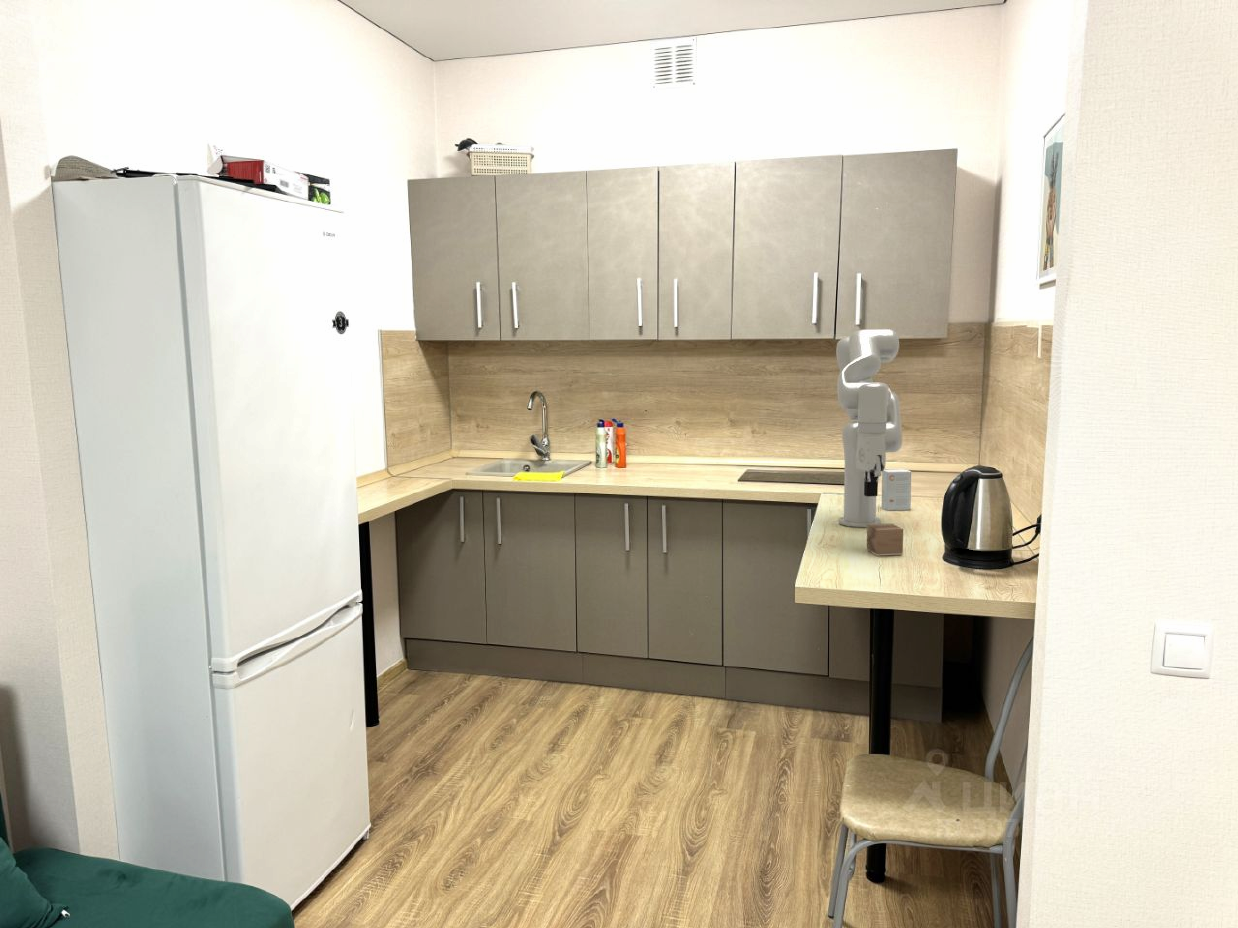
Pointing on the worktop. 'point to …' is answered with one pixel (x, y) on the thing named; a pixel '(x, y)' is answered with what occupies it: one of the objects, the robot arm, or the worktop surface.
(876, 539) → the walnut block
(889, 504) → the small box
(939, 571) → the worktop surface
